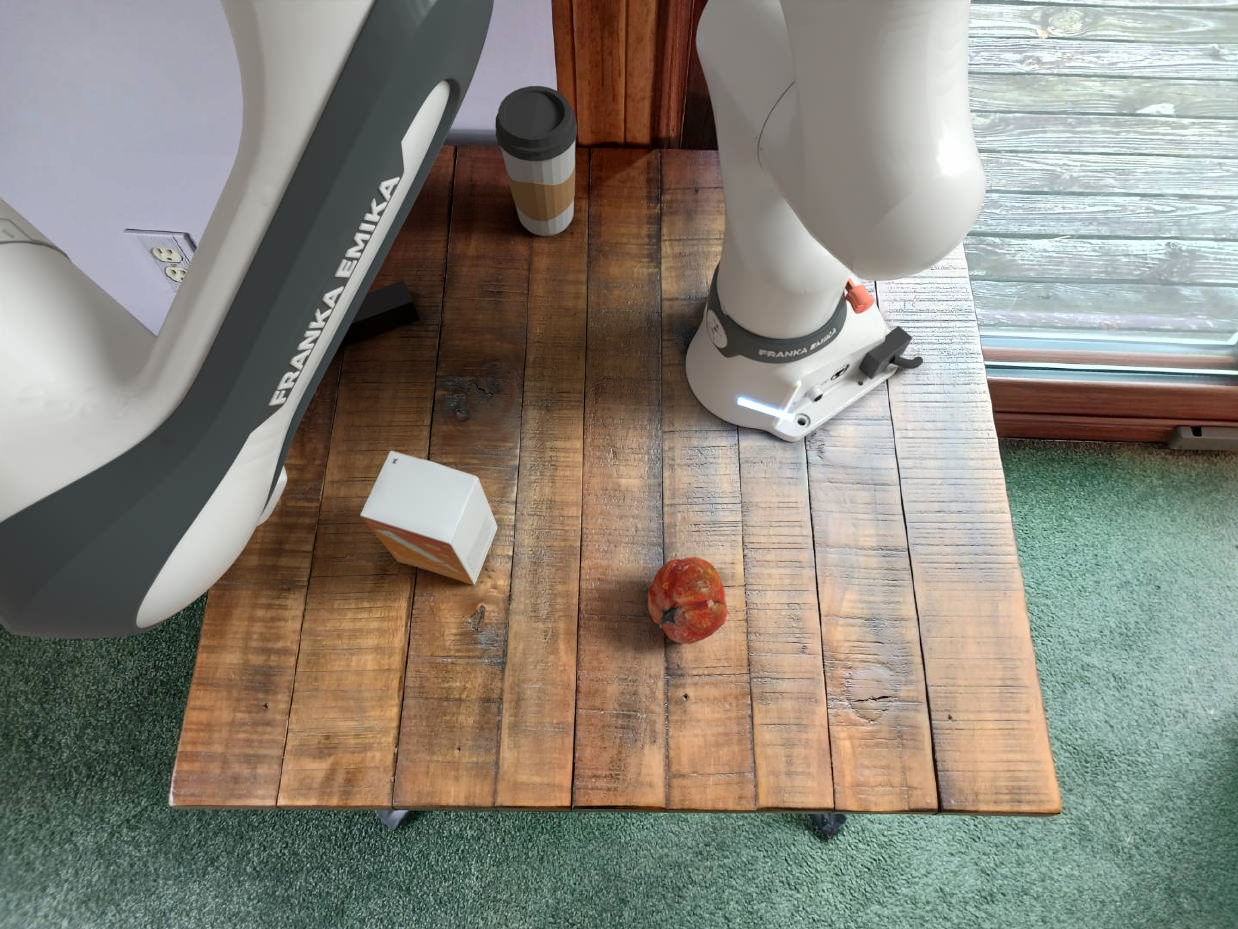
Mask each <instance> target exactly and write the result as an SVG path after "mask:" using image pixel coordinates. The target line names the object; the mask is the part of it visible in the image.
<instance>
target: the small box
mask: <svg viewBox="0 0 1238 929" xmlns="http://www.w3.org/2000/svg"><path fill="white" fill-rule="evenodd" d="M359 516H360V518H361V519H362V520H363V521H364V522H365V524H367V526H368V527H369V529H370V530H371V532H373V533H374V535H375V536H376V537H377V538H378V539H379V541H380V542H381V543H382V544H383V546H384V547H385V548H386V550H388V552H389V553H390V554H391V556H392V557H393V558H394V559H395V560H396V561H397V563H400V564H404V565H405V564H406V565H408V566H412V567H416V568H419V569H423V570H425V571H429V572H432V573H435V574H438V575H441V576H444V577H448V578H450V579H454V580H456V581H460V582H463V583H465V584H469V585H471V586H475V585H476V583H477V581H478V578H479V576H480V573H481V570H482V568H483V565H484V563H485V560H486V558H487V556H488V554H489V551H490V549H491V545H492V543H493V540H494V538H495V535H496V533H497V530H498V524H497V521H496V519H495V517H494V513H493V512H492V508H491V506H490V504H489V502H488V498H487V496H486V494H485V491H484V489H483V486H482V484H481V481H480V478H479V477H478V475H474V474H472V473H469V472H465V471H461V470H459V469H455V468H452V467H449V466H446V465H443V464H440V463H437V462H434V461H431V460H428V459H424V458H419V457H416V456H412V455H408V454H405V453H401V452H398V451H396V450H395V451H394V450H389V452H388V454H387V457H386V458H385V461H384V463H383V465H382V467H381V469H380V471H379V474H378V476H377V478H376V480H375V483H374V485H373V487H372V489H371V491H370V494H368V497H367V500H366V502H365V504H364V506H363V508H362V510H361V512H360V514H359Z"/></svg>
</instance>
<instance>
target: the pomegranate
mask: <svg viewBox="0 0 1238 929" xmlns="http://www.w3.org/2000/svg"><path fill="white" fill-rule="evenodd" d="M647 608H648V613H649V615H650V616H651V618H652V620H653V622H654V623H655V624H658V625H659V629H660V630H662V629H663V631H664V633H665V634H666V636H667V637H668V639H669V640H672V641H674V642H675V643H679V644H685V645H692V644H696V643H697V642H700V641H703V640H705V639H707V638H708V637H710V636H712V635H713V634H715V632H717V631H718V630H719V629H720V628H721V627H723V625H725V623H726V620H727V617H728V604H727V599H726V590H725V588H724V585H723V582H722V579H721V576H720V574H719V572H718V571H717V569H716V568H715V566H714V565H713V564H712V563H711V562H709V561H707V560H706V559H703V558H700V557H697V556H690V557H686V558H681V559H680V558H674V559H671V560H669V561H667V562H666V563H664V564H663V565H662V566H661V567H660V568H659V569H658V570H657V571H656V574H655V575H654V577H653V581H652V583H650V585H649V587H648V592H647Z"/></svg>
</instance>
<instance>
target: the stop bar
mask: <svg viewBox="0 0 1238 929" xmlns="http://www.w3.org/2000/svg"><path fill="white" fill-rule="evenodd" d="M420 320H421V317H420V314H419V313H418V309H417V308H416V305H415V302H414V299H413V297H412V295H411V292H410V291H409V289H408V285H407V284H406V282H405V279H403V280H400V281H397V282H394V283H392V284H389V285H386V286H384V287H380V288H378V289H374V290H372V291H368V292H367V294H366V296H365V298H364V300H363V302H362V304H361V306H360V308H359V309H358V311H357V313H356V315H355V317H354V319H353V321H352V323H351V325H350V326H349V328H348V330H347V332H346V334H345V336H344V338H343V340H342V341H341V343H340V345H339V347H338V349H337V351H340V350H342V349H345V348H348V347H350V346H353V345H356V344H359V343H361V342H364V341H367V340H370V339H372V338H376V337H378V336H381V335H383V334H386V333H389V332H391V331H394V330H397V329H400V328H402V327H405V326H407V325H411V324H413V323H416V322H418V321H420Z"/></svg>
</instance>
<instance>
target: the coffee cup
mask: <svg viewBox="0 0 1238 929" xmlns="http://www.w3.org/2000/svg"><path fill="white" fill-rule="evenodd" d="M576 120H577V118H576V115H575V112H574V109H573V108H572V106H571V104H570V102H569V100H568V99H567V98H566V97H565V96H564V94H562V92H559V91H558V90H556V89H553V88H551V87H548V86H542V85H529V86H524V87H519V88H518V89H515V90H513V91H511V92H509V94H507V95H506V96H505V97H504V98H503V99H502V101H501V102H500V104H499V107H498V109H497V113H496V116H495V125H494V126H495V127H494V128H495V137H496V140H497V143H498V145H499V146H500V150H501V153H502V154H501V155H502V156H503V161H504V169H505V172H506V178H507V180H508V184H509V188H510V192H511V195H512V200H513V202H514V204H515V208H516V212H517V215H518V219H519V222H520V223H521V224H522V226H523V227H524V228H525V229H526V230H527V231H528V232H530V233H532V234H534V235H537V236H541V237H551V236H555V235H557V234H560V233H561V232H563V231H565V229H567V228H568V226H569V225H570V224H571V222H572V220H573V217H574V211H575V210H574V208H575V202H574V201H575V196H576V194H575V192H576V187H575V186H576V138H577V135H578V124H577V121H576Z"/></svg>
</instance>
